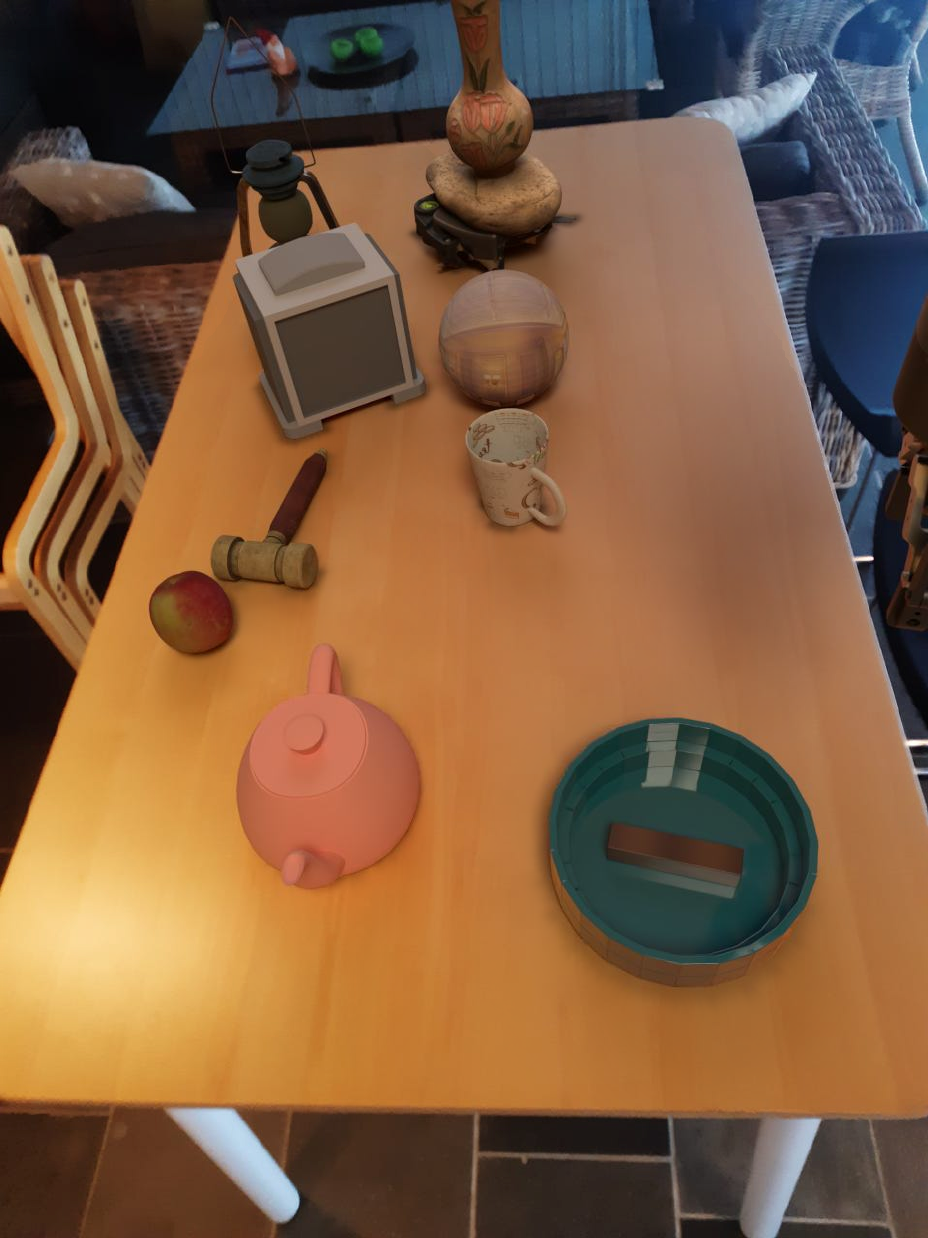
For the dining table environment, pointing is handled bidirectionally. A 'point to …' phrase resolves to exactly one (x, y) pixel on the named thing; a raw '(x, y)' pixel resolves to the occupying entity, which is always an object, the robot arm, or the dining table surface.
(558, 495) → the mug
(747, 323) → the dining table surface
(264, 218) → the lantern
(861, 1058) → the dining table surface
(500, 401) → the ornament
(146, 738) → the dining table surface
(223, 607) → the apple
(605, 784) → the bowl
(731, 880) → the stick
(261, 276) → the alarm clock
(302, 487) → the gavel
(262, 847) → the teapot
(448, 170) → the vase
